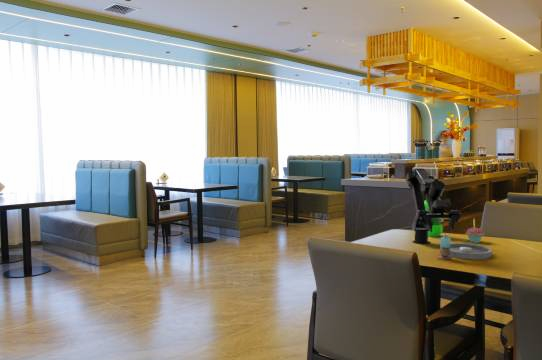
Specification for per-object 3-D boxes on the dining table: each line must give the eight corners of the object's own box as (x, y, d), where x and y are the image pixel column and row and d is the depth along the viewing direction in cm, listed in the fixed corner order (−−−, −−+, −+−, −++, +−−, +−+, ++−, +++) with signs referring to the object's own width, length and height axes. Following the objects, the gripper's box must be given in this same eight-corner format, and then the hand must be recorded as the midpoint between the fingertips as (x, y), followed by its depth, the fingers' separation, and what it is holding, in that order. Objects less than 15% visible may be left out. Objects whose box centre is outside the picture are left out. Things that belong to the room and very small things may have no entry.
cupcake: (463, 240, 234) (463, 217, 234) (479, 239, 234) (480, 216, 234) (470, 243, 226) (471, 219, 225) (487, 243, 226) (488, 219, 225)
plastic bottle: (433, 238, 239) (434, 191, 238) (419, 234, 249) (419, 189, 247) (447, 236, 244) (448, 190, 242) (432, 233, 253) (433, 188, 251)
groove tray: (458, 246, 219) (458, 241, 219) (501, 254, 202) (501, 249, 201) (430, 252, 207) (431, 246, 207) (473, 261, 190) (473, 255, 190)
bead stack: (443, 256, 199) (443, 232, 198) (453, 259, 195) (454, 234, 194) (435, 258, 196) (436, 233, 196) (446, 260, 192) (447, 235, 191)
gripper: (417, 192, 203) (425, 220, 193) (459, 192, 203) (469, 220, 192) (412, 207, 212) (419, 235, 201) (452, 207, 211) (461, 235, 201)
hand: (442, 231), depth 199 cm, fingers open, 9 cm apart
